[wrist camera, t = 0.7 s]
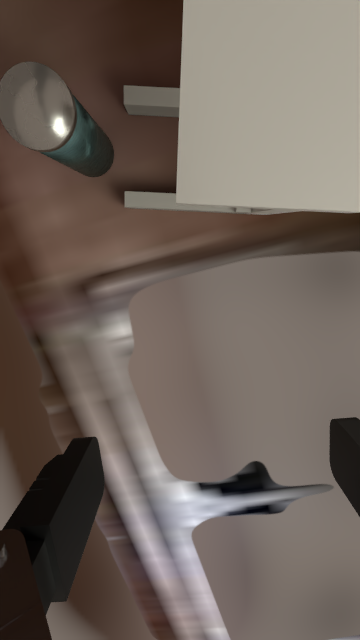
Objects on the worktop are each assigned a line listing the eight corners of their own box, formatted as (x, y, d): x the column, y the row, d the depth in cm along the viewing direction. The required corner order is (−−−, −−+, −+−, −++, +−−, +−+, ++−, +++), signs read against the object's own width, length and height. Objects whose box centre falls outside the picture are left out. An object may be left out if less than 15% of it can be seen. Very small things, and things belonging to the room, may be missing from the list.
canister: (62, 166, 35) (-11, 130, 21) (76, 118, 33) (6, 46, 20) (106, 185, 35) (61, 162, 22) (121, 138, 34) (82, 83, 21)
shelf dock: (129, 211, 36) (69, 197, 17) (128, 92, 33) (51, -104, 13) (265, 218, 37) (363, 212, 17) (279, 100, 33) (426, -81, 13)
